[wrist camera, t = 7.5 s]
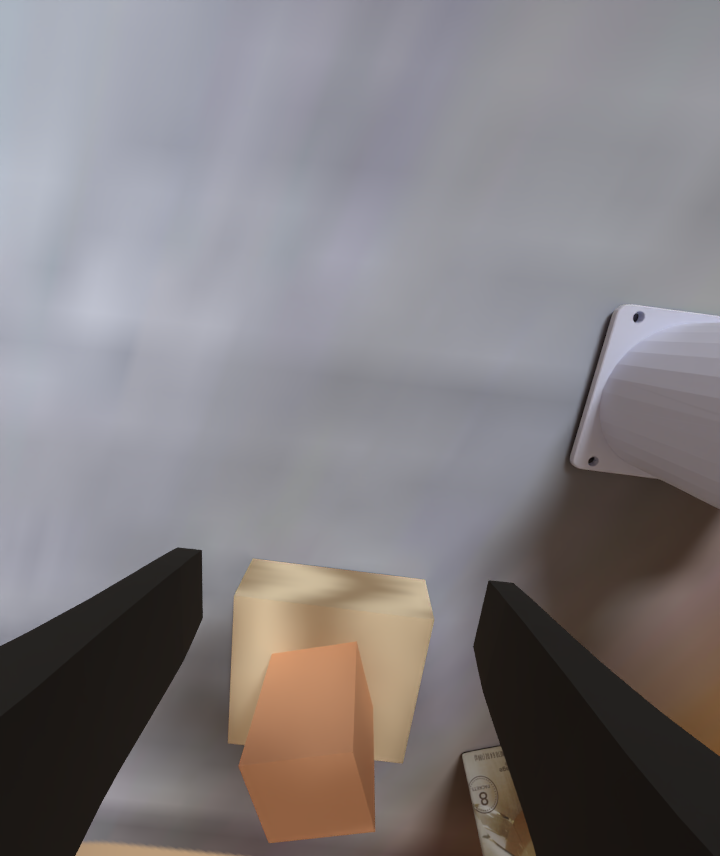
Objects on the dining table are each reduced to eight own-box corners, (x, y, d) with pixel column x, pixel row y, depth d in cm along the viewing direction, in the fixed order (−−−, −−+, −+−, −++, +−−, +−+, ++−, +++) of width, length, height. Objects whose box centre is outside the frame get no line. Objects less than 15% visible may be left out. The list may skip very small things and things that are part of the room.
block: (356, 641, 18) (352, 751, 14) (373, 707, 20) (374, 831, 15) (271, 653, 19) (238, 766, 14) (292, 718, 20) (268, 843, 15)
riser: (424, 579, 21) (434, 619, 18) (398, 709, 23) (402, 763, 21) (252, 558, 21) (234, 595, 18) (245, 692, 23) (227, 743, 20)
